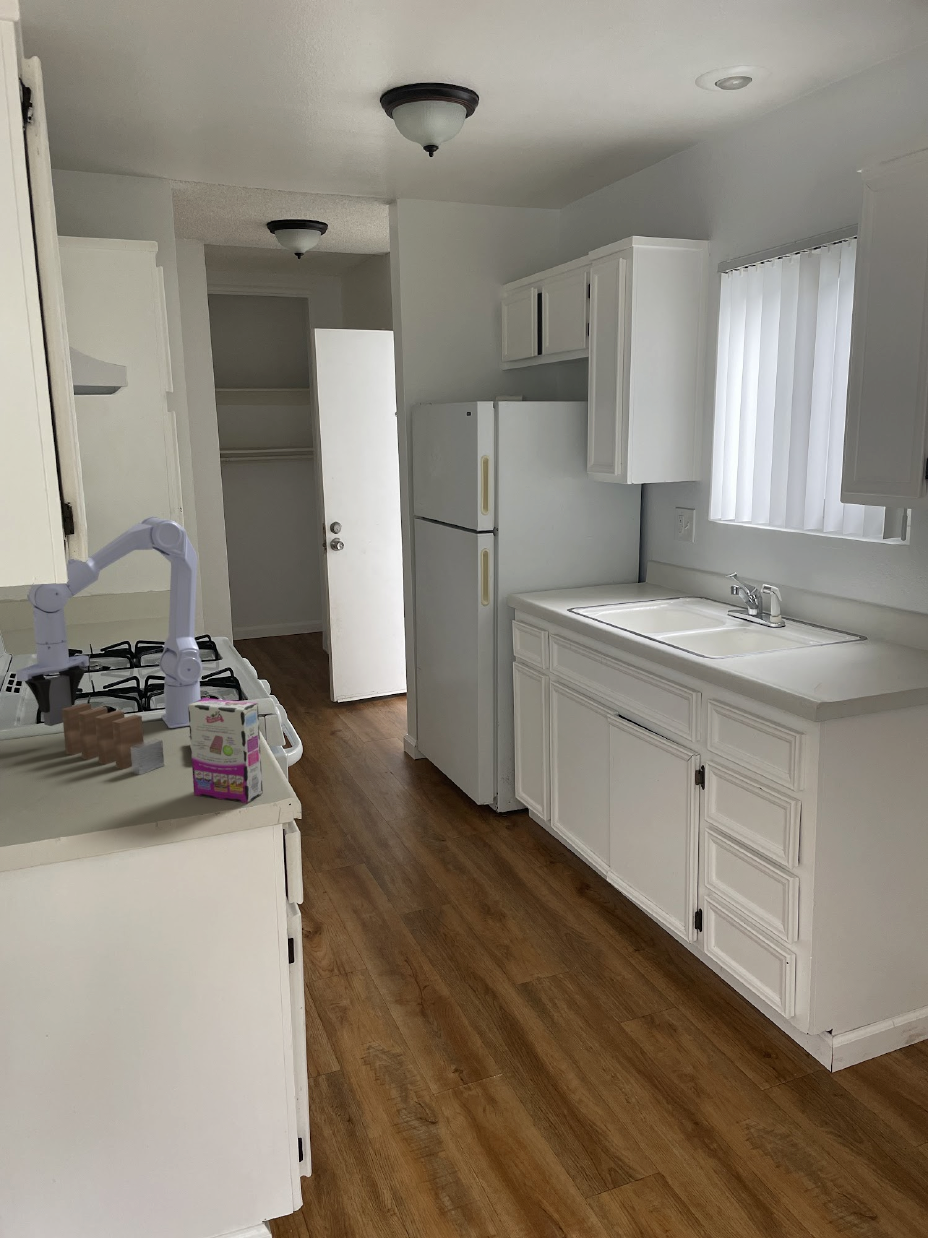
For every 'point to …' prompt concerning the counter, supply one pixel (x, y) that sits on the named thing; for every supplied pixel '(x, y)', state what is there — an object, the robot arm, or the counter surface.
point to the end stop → (147, 756)
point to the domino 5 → (126, 739)
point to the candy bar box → (225, 749)
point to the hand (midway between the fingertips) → (57, 708)
